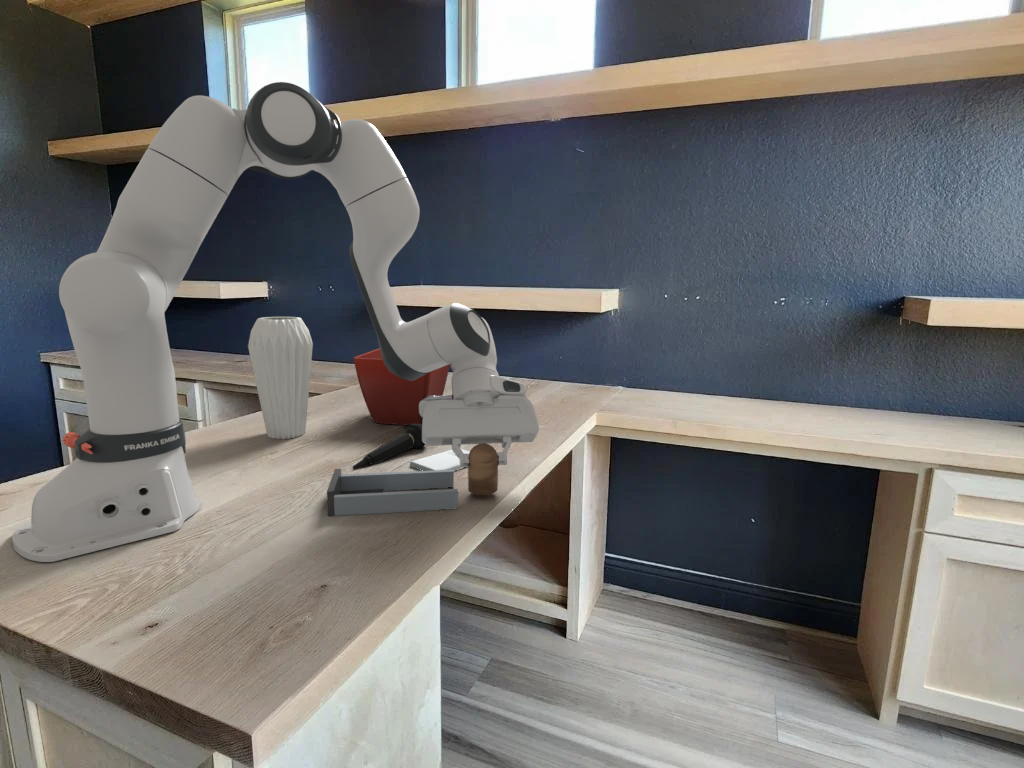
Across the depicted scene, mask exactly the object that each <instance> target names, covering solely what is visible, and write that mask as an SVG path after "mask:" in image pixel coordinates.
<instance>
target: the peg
mask: <svg viewBox="0 0 1024 768" xmlns="http://www.w3.org/2000/svg"><path fill="white" fill-rule="evenodd" d="M469 451H470V453H469V458H468V459H469V467H467V475H468V476H467V480H468V482H467V486H468V487H467V490H468V492H469V493H471V494H474V495H479V496H487V495H489V496H490V495H492V494H495V493H497V491H498V489H499V487H498V483H499V480H498V479H499V477H498V475H499V465H498V451H497V450H496V449H495V448H494V447H493V446H492V445H490V444H485V443H482V444H475V445H474V446H473V447H472V448H471V449H470V450H469Z"/></svg>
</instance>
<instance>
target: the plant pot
mask: <svg viewBox="0 0 1024 768" xmlns="http://www.w3.org/2000/svg"><path fill="white" fill-rule="evenodd" d="M353 362H354V367H355V368H354V369H355V371H356V376H357V380H358V385H359V388H360V391H361V394H362V397H363V400H364V402H365V405H366V407H367V410H368V413H369V415H370V417H371V420H372V421H373V423H375V424H385V425H387V424H388V425H398V426H399V425H400V426H408V425H410V424H412V423H414V424H421V425H422V422H423V417H421V415H420V414H419V403H420V401H421V400H423V399H424V398H427V396H431V395H434V396H441V395H444V392H445V388H446V384H447V380H448V375H449V370H450V366H451V365H450V364H448V365H446V366H443V367H441V368H438V369H435V370H433V371H430V372H429V373H427V374H425V375H423V376H421V377H419V378H417V379H415V380H413V381H409V380H405V379H402V378H400V377H398V376H396V375H394V374H392V373H391V372H390V371H389V370H388V369H387V367H386V366H385V364H384V361H383V358H382V355H381V351H380V347H379V348H377V349H374V350H371V351H368V352H365V353H362V354H360V355H357V356H355V357H353ZM425 401H427V400H425Z"/></svg>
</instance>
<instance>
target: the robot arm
mask: <svg viewBox="0 0 1024 768" xmlns="http://www.w3.org/2000/svg"><path fill="white" fill-rule="evenodd" d="M253 94H254V95H252V97H251V98H250V100H249V102H248V104H247V109H236V108H234V107H231V106H230V105H228V104H226V103H225V102H223V101H221V100H218V99H216V98H214V97H211V96H207V95H192V96H190V97H188V98H187V99H185V100H184V101H183V102H182V103H181V104H180V105H179V106H178V107H177V108H176V109H175V110H174V111H173V112H172V113H171V115H170V116H169V117H168V118H167V119H166V121H164V123H163V124H162V126H161V127H160V128H159V130H158V131H157V133H156V134H155V136H154V137H153V139H152V140H151V142H150V144H149V145H148V147H147V149H146V150H145V152H144V153H143V155H142V157H141V159H140V160H139V163H138V165H137V166H136V168H135V170H134V171H133V173H132V175H131V177H130V178H129V180H128V181H127V184H126V185H125V187H124V188H123V190H122V192H121V194H120V195H119V197H118V200H117V203H116V207H115V209H114V212H113V215H112V217H111V220H110V221H109V225H108V227H107V229H106V232H105V234H104V237H103V239H102V240H101V243H100V245H99V247H98V249H97V251H96V252H91V253H88V254H85V255H83V256H80V257H79V258H78V259H76V260H75V261H73V262H72V263H71V264H70V265H69V266H68V267H67V268H66V270H65V271H64V273H63V275H62V277H61V279H60V282H59V285H58V286H59V288H58V297H59V301H60V305H61V307H62V308H63V310H64V315H65V319H66V323H67V327H68V330H69V335H70V338H71V341H72V345H73V349H74V352H75V354H76V358H77V361H78V364H79V367H80V373H81V376H82V381H83V387H84V388H83V389H84V394H85V402H86V409H87V416H88V422H89V429H87V430H86V431H85V432H84V433H82V434H81V435H80V434H78V433H76V432H73V431H70V432H67V433H65V434H64V436H63V437H62V439H61V441H62V443H63V444H64V445H65V446H67V447H68V448H71V449H74V450H75V451H74V452H75V456H76V458H75V460H73V461H72V462H71V463H69V465H67V466H66V467H65V468H63V469H62V470H61V471H60V472H59V473H58V474H57V475H55V476H54V477H53V478H52V479H50V480H49V481H48V482H47V483H46V484H44V485H43V486H41V488H39V490H38V491H36V494H35V495H34V497H33V500H32V505H31V514H30V522H27V523H24V524H22V525H19V527H18V528H16V529H15V531H14V532H13V533H12V547H13V549H14V551H15V552H16V553H17V554H18V555H19V556H21V557H23V558H25V559H26V560H29V561H33V562H40V563H53V562H58V561H61V560H62V561H63V560H65V559H70V558H74V557H77V556H81V555H86V554H89V553H90V554H91V553H93V552H94V553H95V552H97V551H98V552H99V551H100V550H102V551H103V550H104V549H108V548H114V547H118V546H121V545H125V544H129V543H133V542H138V541H141V540H144V539H149V538H150V539H151V538H153V537H157V536H161V535H165V534H169V533H173V532H176V531H178V530H179V529H181V528H182V525H183V524H184V522H185V521H186V520H187V519H189V518H190V517H191V516H193V515H194V514H195V513H196V512H197V511H198V510H199V509H200V507H201V502H200V500H199V498H198V496H197V494H196V491H195V489H194V487H193V483H192V481H191V477H190V474H189V470H188V466H187V462H186V457H185V456H186V455H185V454H186V452H187V450H186V444H187V443H186V441H187V440H186V433H185V428H184V421H183V420H182V419H181V418H180V414H179V403H178V402H179V401H178V392H177V384H176V374H175V366H174V363H173V357H172V354H171V353H172V352H171V347H170V341H169V336H168V331H167V330H168V329H167V323H166V317H165V316H166V315H165V313H166V311H167V309H168V307H169V306H170V303H171V302H172V300H173V299H174V296H175V295H176V293H177V291H178V289H179V287H180V285H181V283H182V281H184V280H183V279H184V277H185V275H186V274H187V273H188V271H189V269H190V266H191V264H192V263H193V260H194V258H195V256H196V255H197V253H198V251H199V248H200V246H201V245H202V243H203V242H204V239H205V238H206V235H208V232H209V230H210V229H211V227H212V226H213V224H214V222H215V220H216V218H217V216H218V214H219V213H220V211H221V209H222V208H223V206H224V204H225V203H226V200H227V199H228V197H229V195H230V193H231V191H232V190H233V188H234V186H235V184H236V183H237V181H238V179H239V178H240V176H241V175H242V174H243V172H244V171H246V170H247V169H248V170H249V169H250V170H252V171H255V172H258V173H263V174H266V175H269V176H272V177H275V178H278V179H279V178H280V179H284V180H297V179H301V178H303V177H306V176H307V175H308V174H311V173H312V172H313V171H314V172H317V173H319V174H321V175H322V176H323V177H325V178H326V179H327V180H328V181H329V182H330V183H331V185H332V186H333V187H334V188H335V189H336V191H337V194H338V196H339V199H340V200H341V202H342V204H343V205H344V207H345V209H346V212H347V214H348V216H349V219H350V222H351V226H352V227H351V228H352V236H353V237H352V239H353V240H352V242H351V244H350V246H349V249H348V250H349V259H350V263H351V267H352V270H353V273H354V276H355V278H356V282H357V285H358V287H359V288H358V289H359V290H360V294H361V295H362V298H363V301H364V303H365V306H366V309H367V312H368V314H369V318H370V320H371V322H372V326H373V328H374V331H375V333H376V336H377V340H378V345H379V346H378V347H379V348H380V351H381V355H382V358H383V361H384V364H385V366H386V367H387V369H388V370H389V371H390V372H391V373H392V374H394V375H396V376H398V377H400V378H402V379H405V380H409V381H413V380H415V379H417V378H419V377H421V376H423V375H425V374H427V373H429V372H430V371H433V370H435V369H438V368H441V367H443V366H446V365H448V364H450V365H449V366H450V368H451V370H452V376H451V380H450V381H451V394H443V395H441V396H434V395H431V396H427V398H424V399H423V400H421V401H420V403H419V414H420V415H421V417H423V422H422V442H423V443H424V444H425V446H426V447H434V446H437V447H438V446H451V450H452V451H453V452H454V453H455V455H456V456H457V457H458V458H459V463H460V467H465V468H468V467H469V459H468V458H469V454H468V453H467V454H464V453H463V452H462V450H461V449H462V448H461V447H462V446H461V445H478V444H482V443H485V444H489V445H490V444H501V447H502V448H503V450H502V451H497V454H498V466H507V464H508V455H507V454H508V452H509V450H510V448H511V445H512V443H533V442H534V441H535V439H537V436H538V434H539V431H540V427H539V420H538V417H537V413H536V410H535V407H534V404H533V402H532V400H531V399H530V398H528V397H527V392H528V391H527V386H526V384H525V383H523V382H519V381H515V380H511V379H507V378H505V377H503V376H502V377H501V376H500V375H499V372H498V370H497V363H498V356H497V350H496V349H497V348H496V344H495V341H494V336H493V334H492V330H491V327H490V325H489V323H488V322H487V320H486V319H485V318H483V317H482V316H481V315H480V314H479V313H478V312H477V311H476V310H474V309H472V308H471V307H468V306H467V305H464V304H461V303H458V302H454V303H451V304H448V305H445V306H443V307H439V308H437V309H436V310H435V309H434V310H433V311H431V312H429V313H427V314H425V315H423V316H420V317H417V318H416V319H413V320H411V321H407V322H406V321H404V320H403V319H402V317H401V315H400V311H399V308H398V306H397V302H396V301H395V298H394V294H393V292H392V289H391V286H390V283H389V280H388V279H389V278H388V272H389V267H390V265H391V263H392V261H393V259H394V258H395V257H396V256H397V254H398V253H399V252H400V251H401V250H402V249H403V248H404V247H405V246H406V244H407V243H408V242H409V241H410V239H411V238H412V236H413V235H414V233H415V231H416V229H417V228H418V223H419V221H420V212H421V211H420V204H419V202H418V199H417V196H416V193H415V191H414V189H413V187H412V184H411V183H410V181H409V178H408V177H407V174H406V172H405V171H404V169H403V166H402V165H401V163H400V161H399V159H398V158H397V156H396V154H395V153H394V151H393V150H392V148H391V147H390V145H389V144H388V143H387V140H385V138H384V137H383V135H382V134H381V133H380V131H379V130H378V129H377V128H376V125H374V124H373V123H371V122H369V121H367V120H364V119H360V118H359V119H357V118H356V119H355V118H354V119H353V118H352V119H347V120H344V121H341V120H340V117H339V116H338V115H337V114H336V112H333V111H332V110H331V109H329V107H327V106H325V105H324V103H322V102H320V101H319V100H318V99H317V98H316V97H315V96H314V95H312V93H310V92H309V91H307V90H306V89H304V88H303V87H300V86H299V85H297V84H295V83H291V82H286V81H285V82H284V81H277V82H272V83H269V84H266V85H264V86H262V87H261V88H260V89H258V90H257V91H256V92H255V93H253ZM335 121H336V122H335ZM425 400H427V401H425Z"/></svg>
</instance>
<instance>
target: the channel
mask: <svg viewBox="0 0 1024 768" xmlns="http://www.w3.org/2000/svg"><path fill="white" fill-rule="evenodd" d="M454 472H455V471H453V470H431V471H421V470H415V471H414V470H412V471H411V470H410V471H409V470H408V471H391V472H389V471H388V472H387V471H386V472H369V473H362V472H361V473H347V474H346V473H344V474H342V469H341V468H334V470H333V473H332V477H331V479H330V482H329V484H328V488H327V490H326V499H327V500H326V502H327V503H326V504H327V516H328V517H335V516H336V517H337V516H354V515H373V514H388V513H392V514H393V513H409V512H410V511H411V512H423V511H425V510H426V512H427V510H428V511H440V510H439V509H446V510H455V509H454V508H458V509H459V490H458V488H455V487H454V483H455V481H454ZM448 487H454V488H448ZM429 488H438V489H429ZM410 489H418V490H410ZM388 490H397V491H388ZM383 491H384V492H383Z"/></svg>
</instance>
